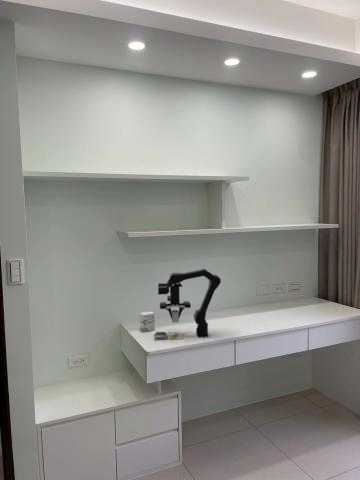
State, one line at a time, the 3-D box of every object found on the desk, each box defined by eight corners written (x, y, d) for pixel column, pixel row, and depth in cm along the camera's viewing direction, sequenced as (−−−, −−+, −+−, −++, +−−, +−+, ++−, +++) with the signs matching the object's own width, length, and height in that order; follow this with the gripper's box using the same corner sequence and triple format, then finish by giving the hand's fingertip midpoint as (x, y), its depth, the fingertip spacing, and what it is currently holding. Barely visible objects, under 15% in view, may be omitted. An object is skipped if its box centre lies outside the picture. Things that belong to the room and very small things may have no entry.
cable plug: (178, 319, 230) (177, 308, 230) (178, 322, 225) (178, 311, 225) (171, 320, 230) (171, 309, 229) (172, 322, 225) (172, 311, 224)
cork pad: (181, 333, 234) (181, 333, 234) (183, 339, 225) (183, 338, 225) (167, 334, 233) (167, 334, 233) (168, 339, 224) (168, 339, 224)
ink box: (142, 332, 237) (142, 314, 236) (140, 330, 241) (139, 312, 240) (155, 330, 241) (154, 312, 240) (152, 328, 245) (151, 311, 244)
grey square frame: (166, 334, 233) (166, 331, 232) (167, 339, 224) (167, 336, 224) (154, 335, 232) (154, 332, 232) (154, 340, 223) (154, 337, 223)
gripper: (188, 290, 235) (188, 314, 237) (159, 291, 233) (159, 315, 235) (190, 294, 224) (190, 319, 225) (159, 295, 222) (160, 320, 224)
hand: (175, 318), depth 228 cm, fingers closed on cable plug, 4 cm apart
